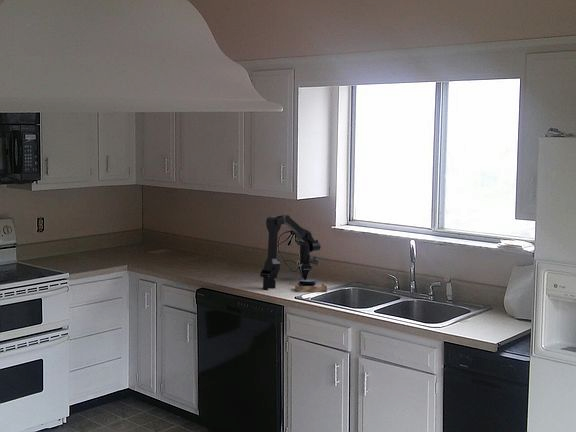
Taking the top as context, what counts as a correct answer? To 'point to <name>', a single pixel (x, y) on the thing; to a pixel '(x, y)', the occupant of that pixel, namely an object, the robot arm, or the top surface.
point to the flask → (307, 282)
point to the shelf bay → (311, 288)
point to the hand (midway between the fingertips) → (304, 279)
